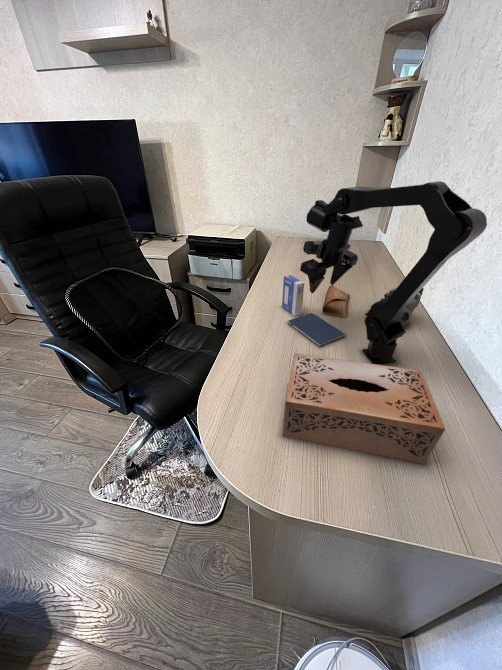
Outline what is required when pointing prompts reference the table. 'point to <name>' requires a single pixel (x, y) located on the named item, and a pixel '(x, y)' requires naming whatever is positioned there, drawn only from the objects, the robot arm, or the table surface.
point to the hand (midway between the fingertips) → (321, 288)
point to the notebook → (316, 329)
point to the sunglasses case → (335, 302)
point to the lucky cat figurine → (409, 308)
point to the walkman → (292, 295)
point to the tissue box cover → (362, 408)
